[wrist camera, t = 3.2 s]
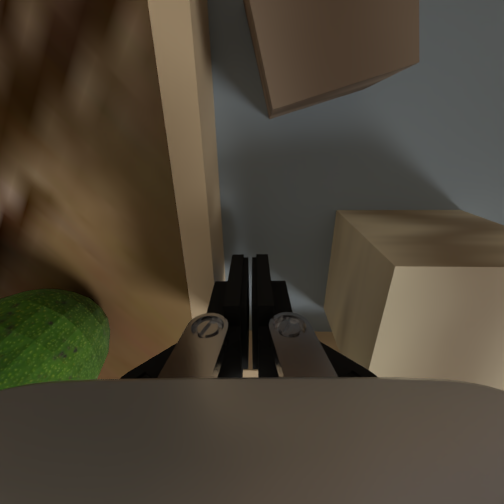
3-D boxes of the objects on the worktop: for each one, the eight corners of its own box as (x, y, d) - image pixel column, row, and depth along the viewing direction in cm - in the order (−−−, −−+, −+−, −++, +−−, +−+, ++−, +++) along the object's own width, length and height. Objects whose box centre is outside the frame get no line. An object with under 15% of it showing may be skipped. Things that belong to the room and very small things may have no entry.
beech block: (460, 209, 12) (622, 267, 7) (426, 309, 15) (524, 411, 9) (336, 210, 12) (395, 266, 7) (323, 308, 15) (359, 406, 9)
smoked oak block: (352, -41, 9) (418, -170, 5) (363, 89, 10) (419, 62, 7) (243, 2, 9) (231, -86, 6) (269, 119, 11) (273, 109, 7)
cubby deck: (784, -82, 10) (1429, -353, 4) (544, 319, 18) (665, 396, 13) (187, -55, 11) (112, -252, 5) (218, 314, 19) (201, 384, 14)
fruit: (152, 307, 19) (6, 533, 8) (104, 360, 22) (-56, 585, 11) (56, 243, 17) (-307, 428, 6) (15, 310, 20) (-289, 522, 9)
